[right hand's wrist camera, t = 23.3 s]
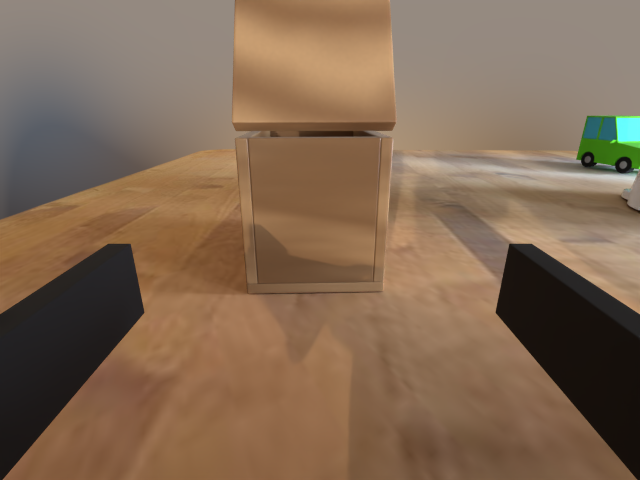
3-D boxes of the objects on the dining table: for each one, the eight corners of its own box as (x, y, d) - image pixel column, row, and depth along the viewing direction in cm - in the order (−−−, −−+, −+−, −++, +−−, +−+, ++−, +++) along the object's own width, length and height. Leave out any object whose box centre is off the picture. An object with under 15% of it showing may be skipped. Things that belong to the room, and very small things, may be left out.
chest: (268, 227, 38) (262, 125, 34) (356, 226, 38) (360, 125, 35) (247, 294, 24) (234, 137, 21) (383, 291, 25) (394, 137, 21)
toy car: (633, 176, 64) (651, 117, 61) (570, 165, 76) (583, 115, 73) (677, 174, 66) (698, 117, 63) (609, 163, 78) (623, 115, 75)
